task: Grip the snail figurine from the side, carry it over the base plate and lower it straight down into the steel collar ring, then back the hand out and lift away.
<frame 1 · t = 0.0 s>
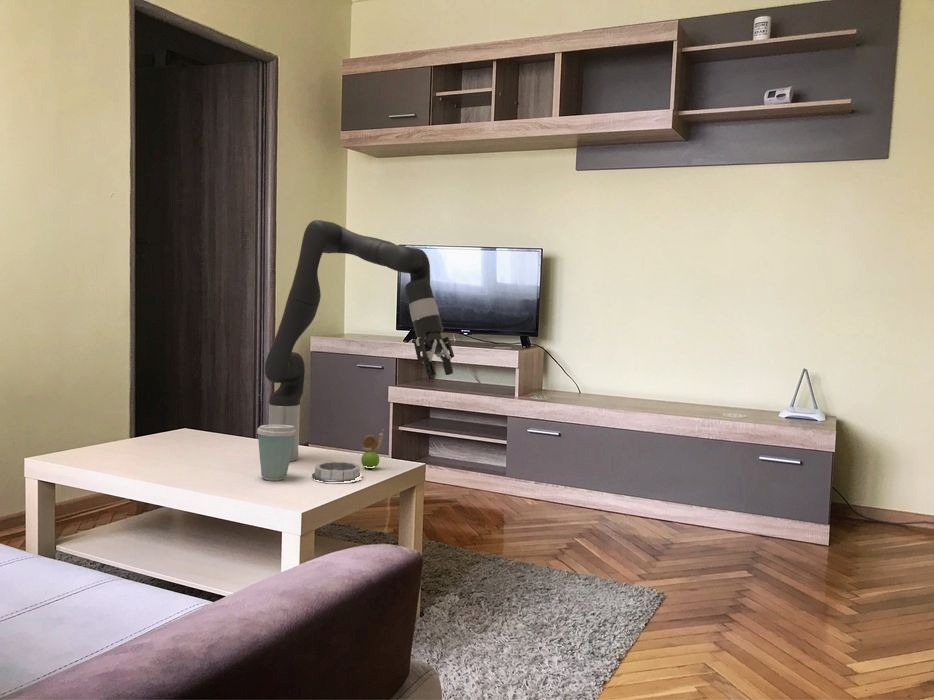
hand: (441, 375, 201), 31 cm above the table, tool tilted 20°, fingers open, 8 cm apart
snail figurine: (371, 469, 225), on the table
disposable coffee cup: (275, 478, 208), on the table
collar base: (337, 477, 212), on the table
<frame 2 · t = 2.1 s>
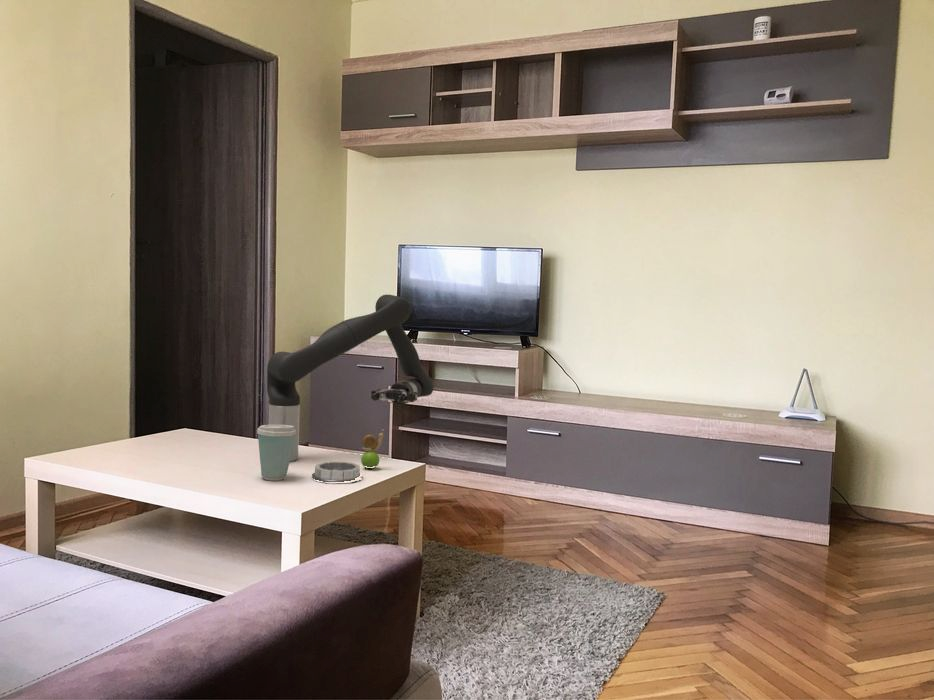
hand: (386, 398, 234), 20 cm above the table, tool horizontal, fingers open, 8 cm apart
nothing on the table moved.
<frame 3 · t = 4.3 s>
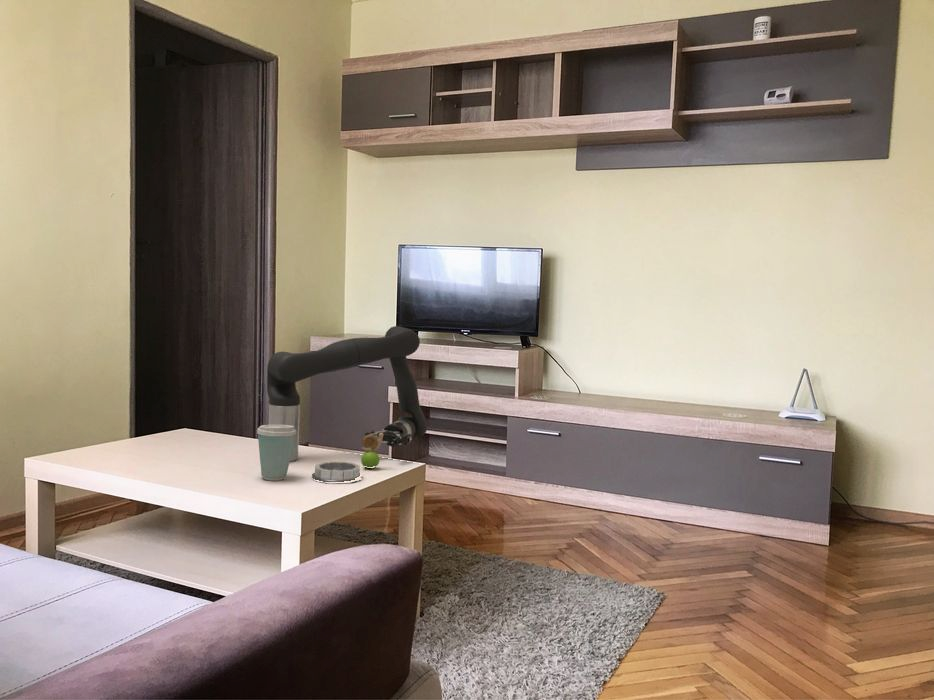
hand: (380, 441, 232), 7 cm above the table, tool horizontal, fingers open, 8 cm apart
nothing on the table moved.
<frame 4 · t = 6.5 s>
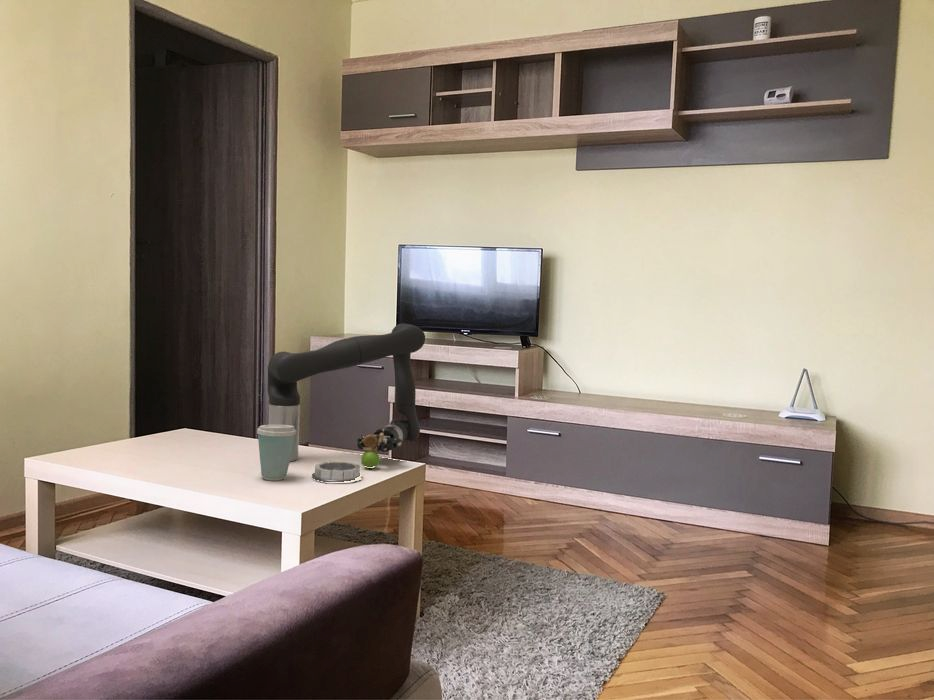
hand: (369, 447, 222), 7 cm above the table, tool horizontal, fingers closed on snail figurine, 5 cm apart
snail figurine: (371, 469, 225), on the table, touching gripper
everything else where it was.
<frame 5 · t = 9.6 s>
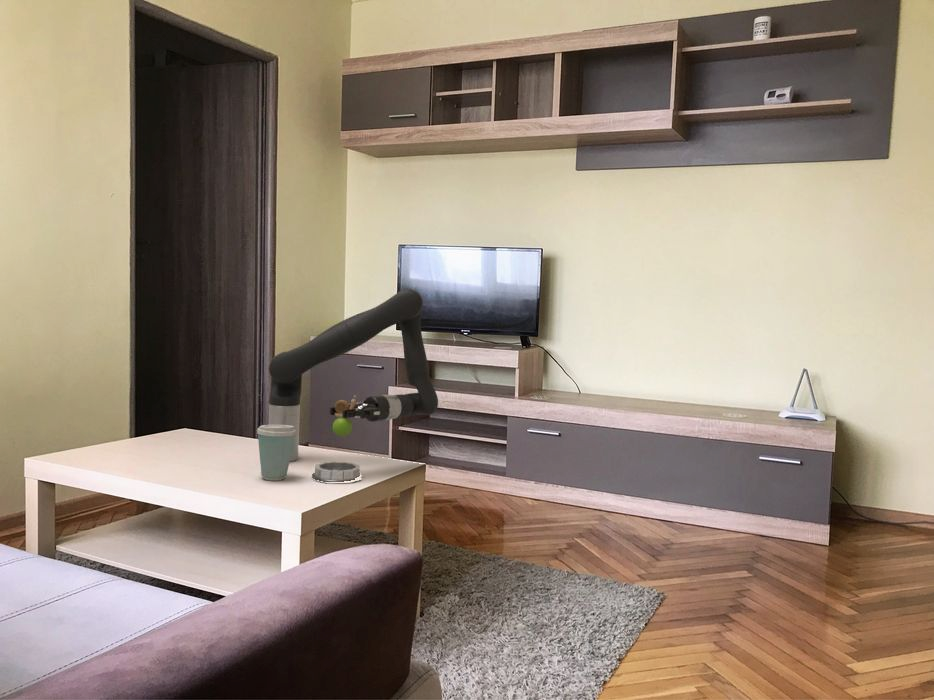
hand: (337, 412, 210), 19 cm above the table, tool horizontal, fingers closed on snail figurine, 5 cm apart
snail figurine: (343, 437, 212), point 11 cm above the table, touching gripper
everything else where it was.
when the fingers open (9 cm above the table, at t = 12.6 s): snail figurine drops 1 cm, resting on collar base.
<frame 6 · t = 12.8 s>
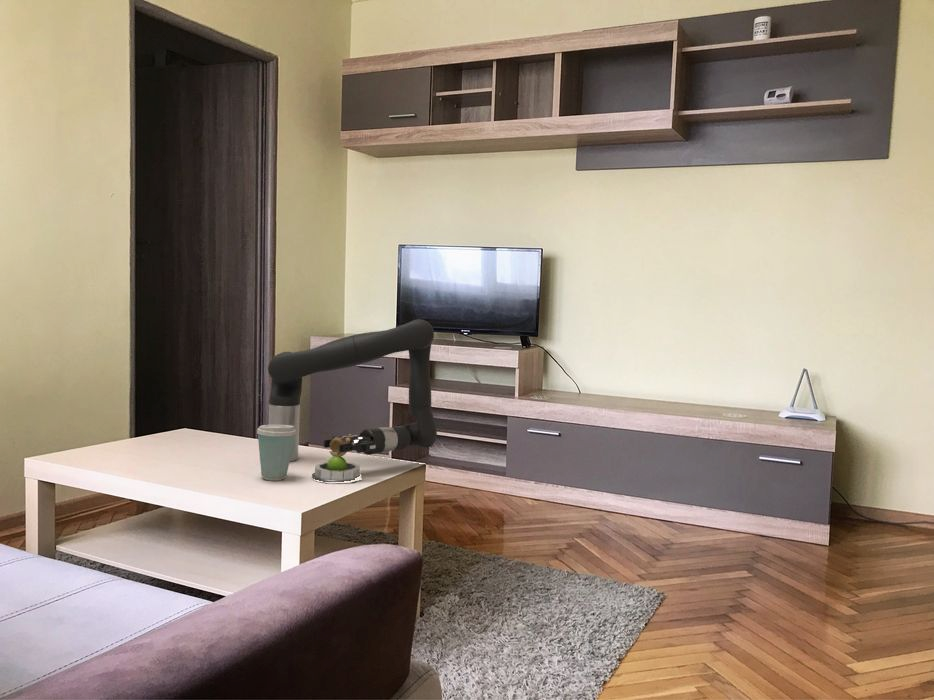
hand: (331, 446, 209), 9 cm above the table, tool horizontal, fingers open, 7 cm apart
snail figurine: (338, 475, 212), point 1 cm above the table, touching collar base
everything else where it was.
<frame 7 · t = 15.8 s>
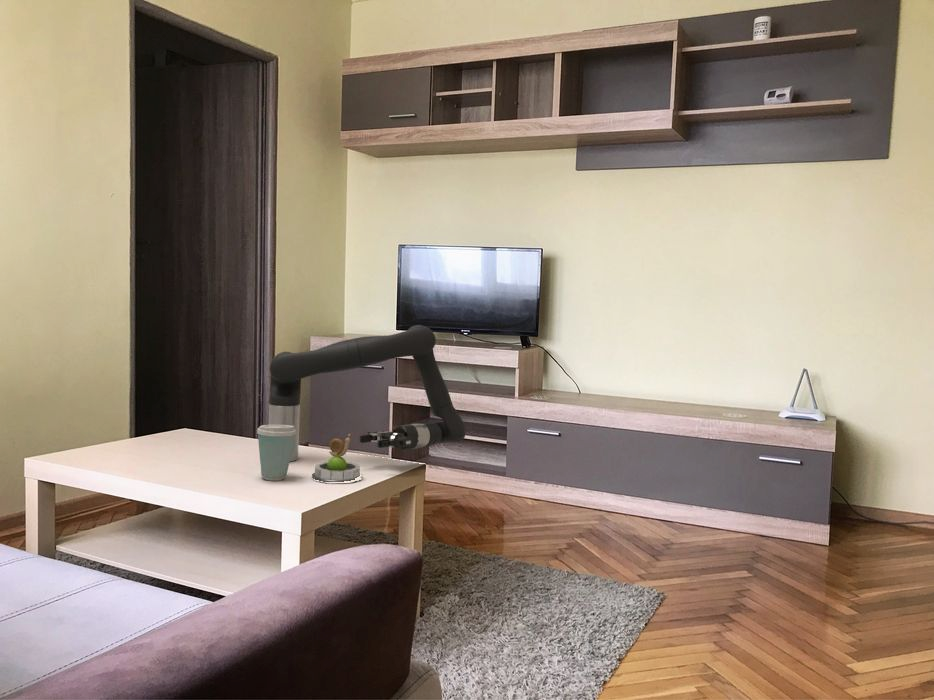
hand: (369, 441, 219), 9 cm above the table, tool horizontal, fingers open, 8 cm apart
nothing on the table moved.
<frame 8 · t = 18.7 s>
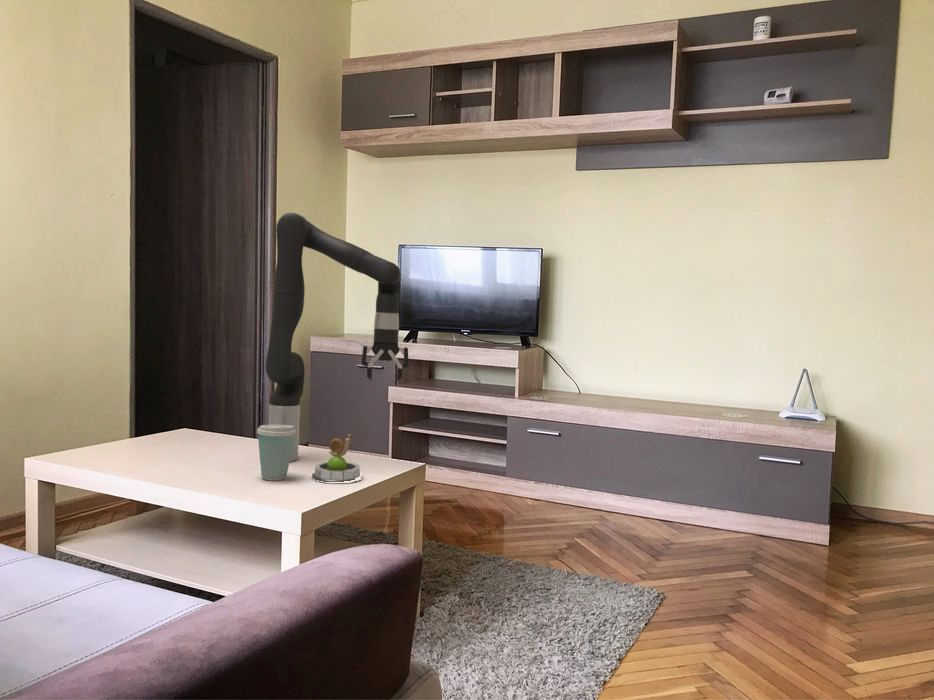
hand: (384, 380, 231), 26 cm above the table, tool pointing down, fingers open, 8 cm apart
nothing on the table moved.
at the end: snail figurine 0.2 cm off-centre on the collar base, point 0.6 cm above the collar base's base; snail figurine tilted 0°; the gripper is holding nothing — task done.
